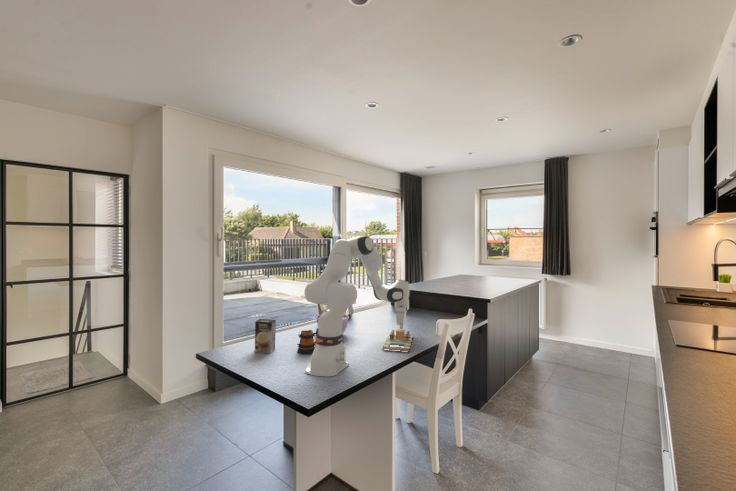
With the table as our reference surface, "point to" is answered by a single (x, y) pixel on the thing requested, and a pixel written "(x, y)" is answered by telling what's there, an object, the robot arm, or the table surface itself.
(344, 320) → the bowl of food
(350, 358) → the table surface
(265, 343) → the coffee box
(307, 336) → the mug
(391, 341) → the tunnel board
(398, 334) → the block
